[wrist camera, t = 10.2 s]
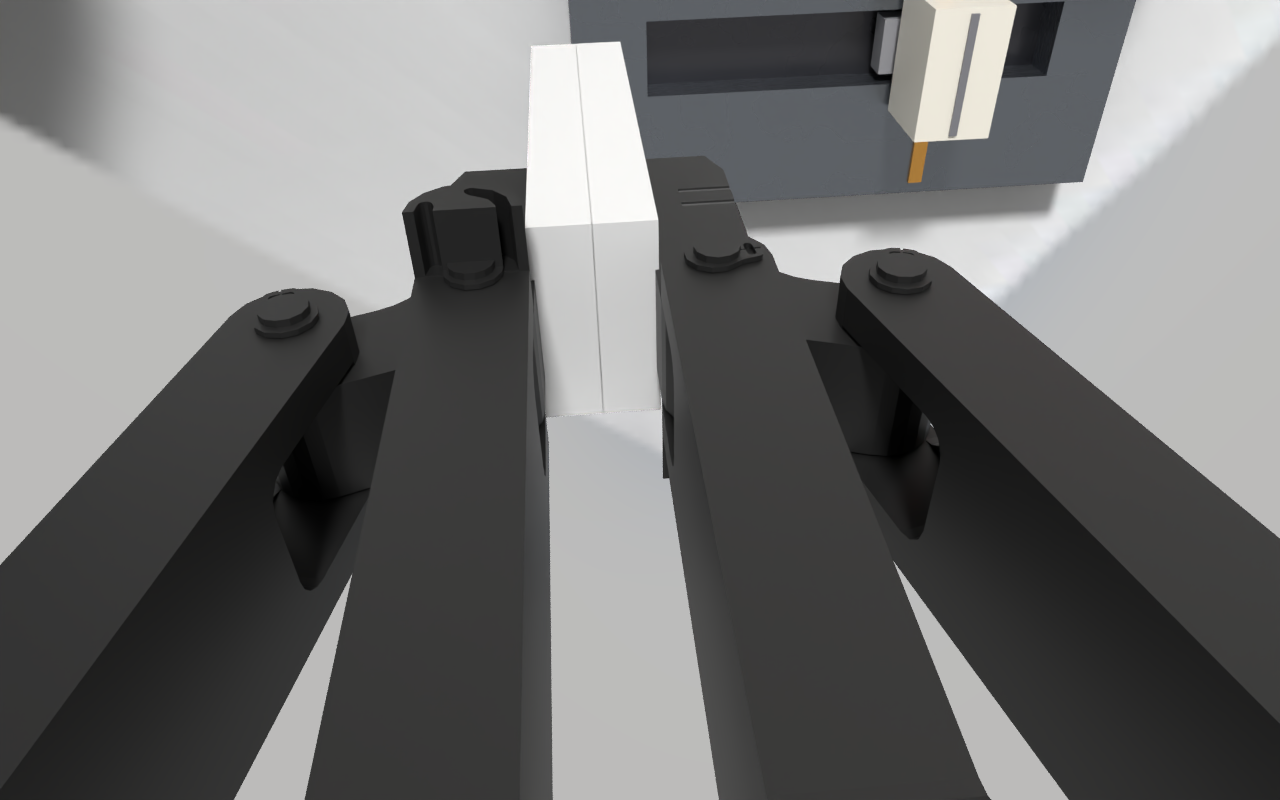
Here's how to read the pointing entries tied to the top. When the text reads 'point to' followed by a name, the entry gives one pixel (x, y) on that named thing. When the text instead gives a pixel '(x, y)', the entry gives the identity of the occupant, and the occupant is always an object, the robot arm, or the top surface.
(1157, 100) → the top surface
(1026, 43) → the console
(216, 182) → the top surface
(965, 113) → the fader
